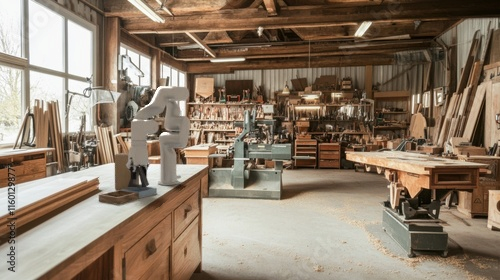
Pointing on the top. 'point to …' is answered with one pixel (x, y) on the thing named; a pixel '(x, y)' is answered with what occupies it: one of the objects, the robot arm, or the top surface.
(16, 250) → the top surface
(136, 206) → the top surface
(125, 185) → the block
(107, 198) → the walnut bin
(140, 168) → the black angular piece
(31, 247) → the top surface
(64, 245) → the top surface
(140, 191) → the slate tray
